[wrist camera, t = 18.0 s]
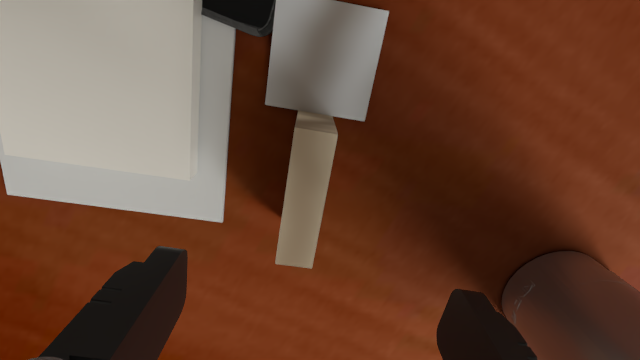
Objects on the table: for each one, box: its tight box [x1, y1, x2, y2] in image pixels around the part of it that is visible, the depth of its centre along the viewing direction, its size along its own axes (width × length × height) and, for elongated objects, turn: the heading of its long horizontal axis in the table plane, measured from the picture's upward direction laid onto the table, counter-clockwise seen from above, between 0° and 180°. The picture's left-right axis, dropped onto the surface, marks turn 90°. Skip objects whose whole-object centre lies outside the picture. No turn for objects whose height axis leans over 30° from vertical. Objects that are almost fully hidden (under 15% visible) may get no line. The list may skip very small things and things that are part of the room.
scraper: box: [265, 0, 389, 268], centre depth 21 cm, size 7×16×6 cm, turn 170°
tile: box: [0, 0, 202, 181], centre depth 21 cm, size 12×2×12 cm
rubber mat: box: [0, 15, 236, 222], centre depth 22 cm, size 16×18×1 cm
